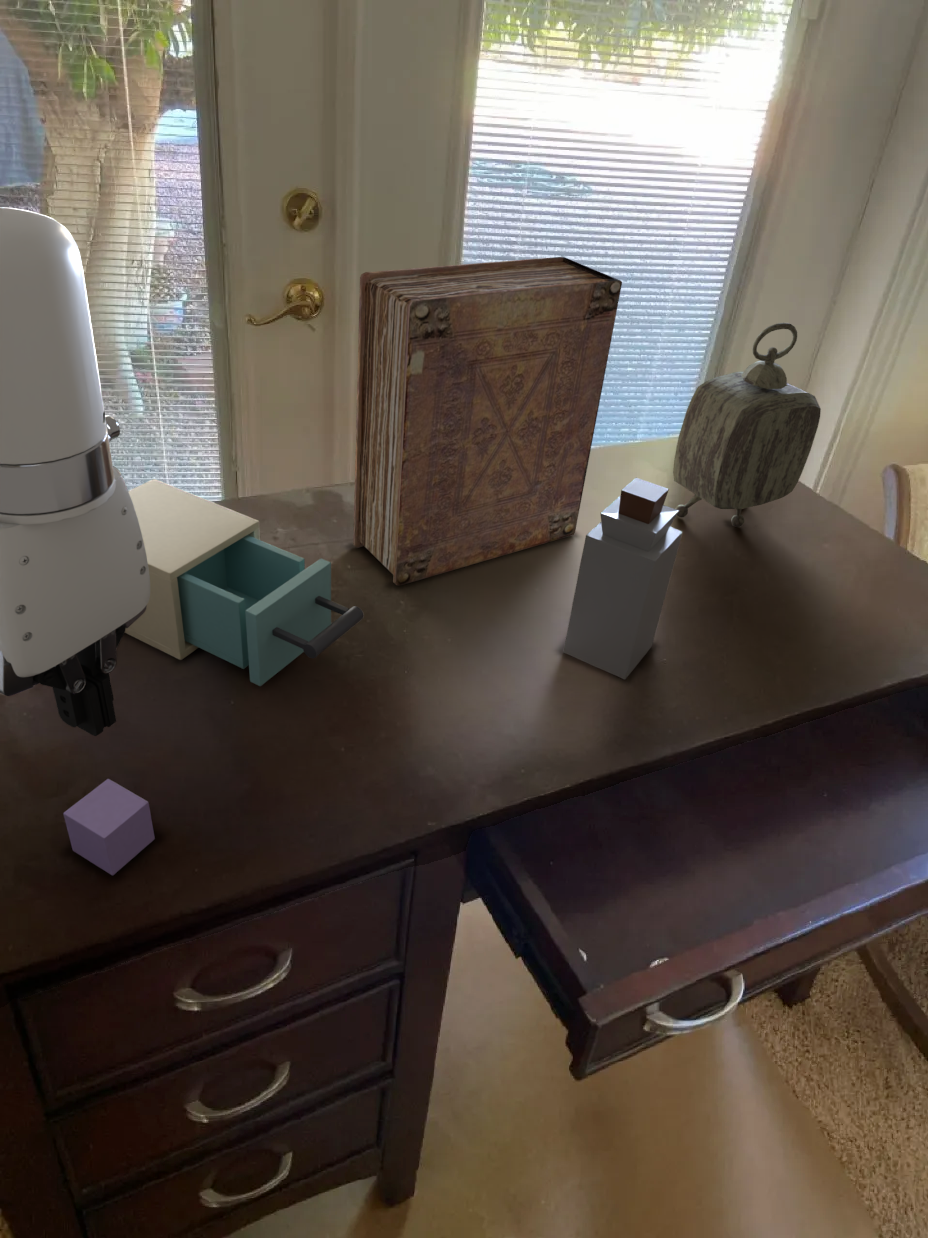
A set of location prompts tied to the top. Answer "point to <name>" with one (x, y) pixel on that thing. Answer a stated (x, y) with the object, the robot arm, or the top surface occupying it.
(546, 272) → the book
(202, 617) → the teal drawer
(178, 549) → the drawer cabinet
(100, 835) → the lavender cube
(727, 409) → the tabletop clock
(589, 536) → the perfume bottle
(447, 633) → the top surface
